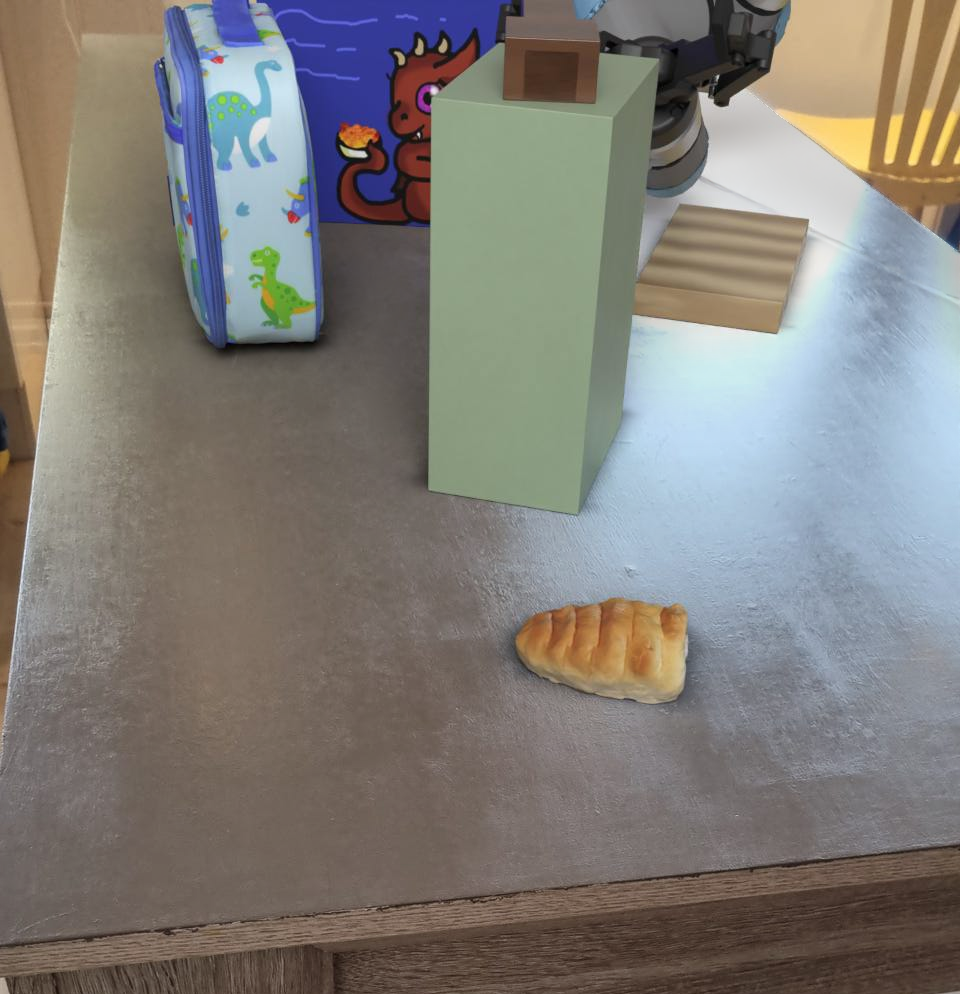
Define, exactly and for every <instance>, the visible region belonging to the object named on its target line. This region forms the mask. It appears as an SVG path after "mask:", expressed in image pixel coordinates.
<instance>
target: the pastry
mask: <svg viewBox="0 0 960 994" xmlns="http://www.w3.org/2000/svg"><path fill="white" fill-rule="evenodd" d="M688 628H689V615H688V611H687V610H686V608H685V607H684V606H683V605H681V604H680V603H678V602H677V603H674V604H672V605H671V606H664V605H661V604H659V603H649V602H644V601H642V600H631V599H627V598H626V597H623V596H622V597H621V596H620V597H610V598H609V599H606V600H605V601H602V602H598V603H591V604H585V605H581V606H580V605H575V604H569V605H564V606H563V607H560V608H557V609H555V608H554V609H553V608H552V609H550V610H546V611H544V612H538V613H535V614H534V615H532V616H531V617H530V618H528V619H527V620H526V621H525V622H524V623H523V625H522V627H521V629H519V632H518V634H516V637H515V640H514V644H515V651H516V654H517V655H518V657H519V660H521V662H522V663H523V665H525V667H526V668H527V669H528V670H529V671H531V672H533V673H535V674H536V675H538V677H539V678H545V679H548V680H549V681H550V682H551V683H554V684H562V685H566V686H568V687H571V688H573V689H574V690H575V691H577V692H584V693H587V694H595V695H597V696H601V697H604V698H611V699H617V700H624V699H631V700H634V701H636V702H637V703H642V704H649V705H651V704H652V705H653V704H663V703H668V702H669V703H670V702H673V701H676V700H677V699H678V697H679V695H680V694H681V693H682V692H683V690H684V687H685V681H686V675H687V664H686V659H687V657H688V654H689V634H688V630H689V629H688Z"/></svg>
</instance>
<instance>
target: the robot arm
mask: <svg viewBox="0 0 960 994" xmlns="http://www.w3.org/2000/svg"><path fill="white" fill-rule="evenodd" d="M573 4H574V11H575V17H576V19H583V20H596V22H597V27H598V32H599V37H600V53H606V54H616V55H626V56H635V57H645V58H655V59H660V62H659V72H658V81H657V90H656V100H655V109H654V118H653V128H652V137H651V146H650V156H649V165H648V174H647V184H646V193H645V195H648V196H650V197H654V198H658V199H668V198H669V199H670V198H673V197H677V196H680V195H683V194H684V193H686V192H687V191H688V190H689V189H691V188H693V186H694V185H695V184H696V183H697V182H698V180H700V177H701V176H702V174H703V173H704V170H705V167H706V165H707V161H708V156H709V146H710V143H709V142H710V136H709V132H708V129H707V127H706V125H705V121H704V118H703V113H702V106H701V98H700V93H702V94H707V99H709V100H713V105H715V106H716V107H718V108H726V107H729V106H730V101H731V98H732V97H734V96H735V95H737V94H738V93H740V92H742V91H744V90H745V89H746V88H747V87H749V86H751V85H752V84H754V83H755V82H757V81H758V80H760V79H761V78H763V77H764V76H766V75H768V74H769V73H770V72H771V68H772V63H773V58H774V52H775V48H776V47H777V46H778V45H779V43H780V42H781V41H782V39H783V38H784V36H785V35H786V29H787V26H788V25H787V24H788V22H789V21H790V19H791V13H792V0H573ZM507 16H512V17H521V0H511V4H501V5H500V11H499V18H498V24H497V31H496V37H495V43H496V44H498V43H505V23H506V17H507Z"/></svg>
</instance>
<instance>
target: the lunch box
mask: <svg viewBox="0 0 960 994" xmlns="http://www.w3.org/2000/svg"><path fill="white" fill-rule="evenodd" d="M163 19H164V27H163V55H164V56H162V57H158V58H157V60H156V62H155V63H154V65H153V72H154V73H153V74H154V81H155V86H156V90H157V93H158V96H159V104H160V107H161V108H160V109H161V112H160V113H161V122H162V132H163V142H164V150H165V157H166V166H167V173H168V174H167V176H166V180H167V187H168V188H167V189H168V196H169V204H170V210H171V211H170V212H171V217H172V218H171V219H172V225H173V227H174V228H175V235H176V240H177V247H178V251H179V256H180V262H181V267H182V272H183V276H184V281H185V286H186V290H187V295H188V298H189V301H190V306H191V309H192V312H193V315H194V317H195V319H196V321H197V323H198V325H199V326H200V327H201V328H202V330H203V332H204V335H205V337H206V338H207V340H208V342H209V343H211V344H213V346H214V347H216V348H218V349H224V348H225V347H226V344H227V343H230V344H235V345H236V344H237V345H244V344H256V345H257V344H266V343H267V344H268V343H282V344H283V343H292V342H296V343H304V342H310V343H311V342H312V343H314V342H315V341H317V340H319V339H320V330H321V328H322V326H323V323H324V320H325V319H324V317H325V302H324V283H323V264H322V246H321V245H322V244H321V233H320V222H319V219H318V204H317V190H316V180H315V170H314V162H313V154H312V147H311V139H310V133H309V127H308V121H307V115H306V109H305V106H304V102H303V99H302V95H301V92H300V89H299V86H298V83H297V77H296V68H295V61H294V58H293V55H292V53H291V51H290V49H289V48H288V46H287V44H286V41H285V40H284V38H283V36H282V34H281V32H280V29H279V28H278V25H277V22H276V19H275V17H274V14H273V10H272V8H270V7H268V5H267V4H265V3H256V2H251V3H250V0H211V3H193V4H191V5H190V4H189V5H187V6H185V7H183V9H182V8H181V6H179V5H175V4H174V5H173V6H172V7H168V8H167V10H164V11H163Z"/></svg>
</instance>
